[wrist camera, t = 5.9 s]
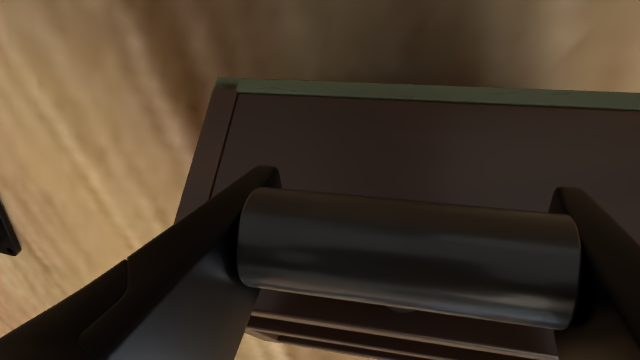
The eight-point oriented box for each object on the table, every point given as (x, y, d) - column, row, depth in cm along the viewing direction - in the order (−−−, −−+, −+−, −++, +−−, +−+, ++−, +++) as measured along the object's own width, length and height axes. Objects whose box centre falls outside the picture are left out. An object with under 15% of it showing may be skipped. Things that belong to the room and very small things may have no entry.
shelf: (152, -28, 11) (40, 254, 8) (791, -38, 8) (906, 374, 6) (292, 200, 23) (264, 340, 21) (563, 226, 21) (567, 390, 18)
